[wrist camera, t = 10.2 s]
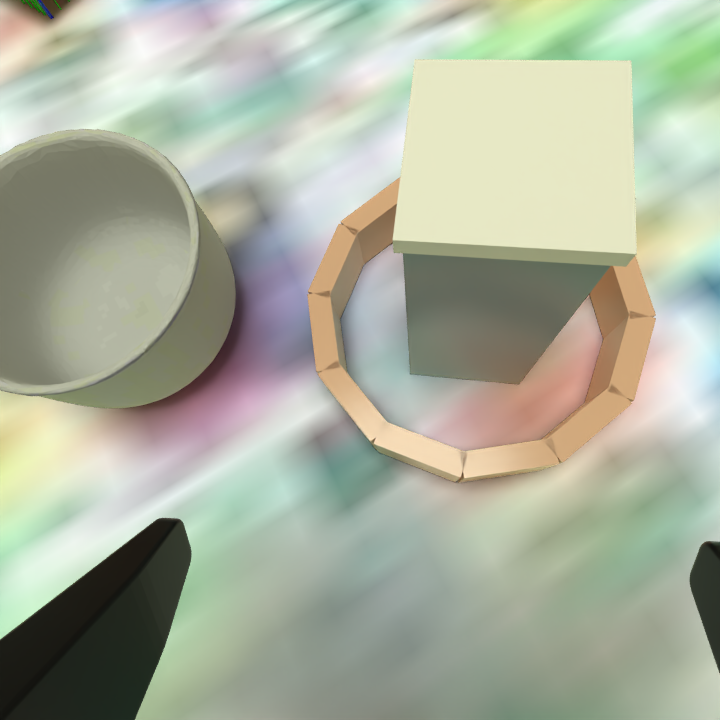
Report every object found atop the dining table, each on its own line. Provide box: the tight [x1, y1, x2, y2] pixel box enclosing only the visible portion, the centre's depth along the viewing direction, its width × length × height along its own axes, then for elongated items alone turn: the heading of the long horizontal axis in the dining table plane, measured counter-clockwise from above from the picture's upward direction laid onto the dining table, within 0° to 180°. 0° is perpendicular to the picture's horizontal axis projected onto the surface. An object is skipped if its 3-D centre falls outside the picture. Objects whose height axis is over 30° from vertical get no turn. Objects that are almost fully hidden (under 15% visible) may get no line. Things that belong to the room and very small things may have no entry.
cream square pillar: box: [393, 60, 637, 384], centre depth 18 cm, size 5×5×13 cm
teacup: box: [0, 129, 236, 408], centre depth 22 cm, size 14×11×8 cm
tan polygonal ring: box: [307, 178, 656, 483], centre depth 23 cm, size 14×14×3 cm
